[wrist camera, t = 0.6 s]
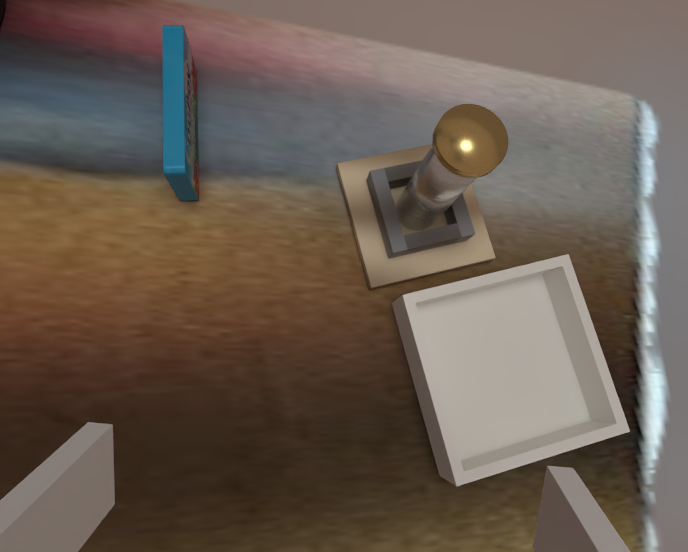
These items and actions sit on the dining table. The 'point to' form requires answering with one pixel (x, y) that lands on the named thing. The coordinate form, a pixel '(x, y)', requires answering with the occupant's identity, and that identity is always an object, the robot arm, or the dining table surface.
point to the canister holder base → (398, 241)
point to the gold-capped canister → (452, 163)
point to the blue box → (180, 114)
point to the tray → (507, 369)
